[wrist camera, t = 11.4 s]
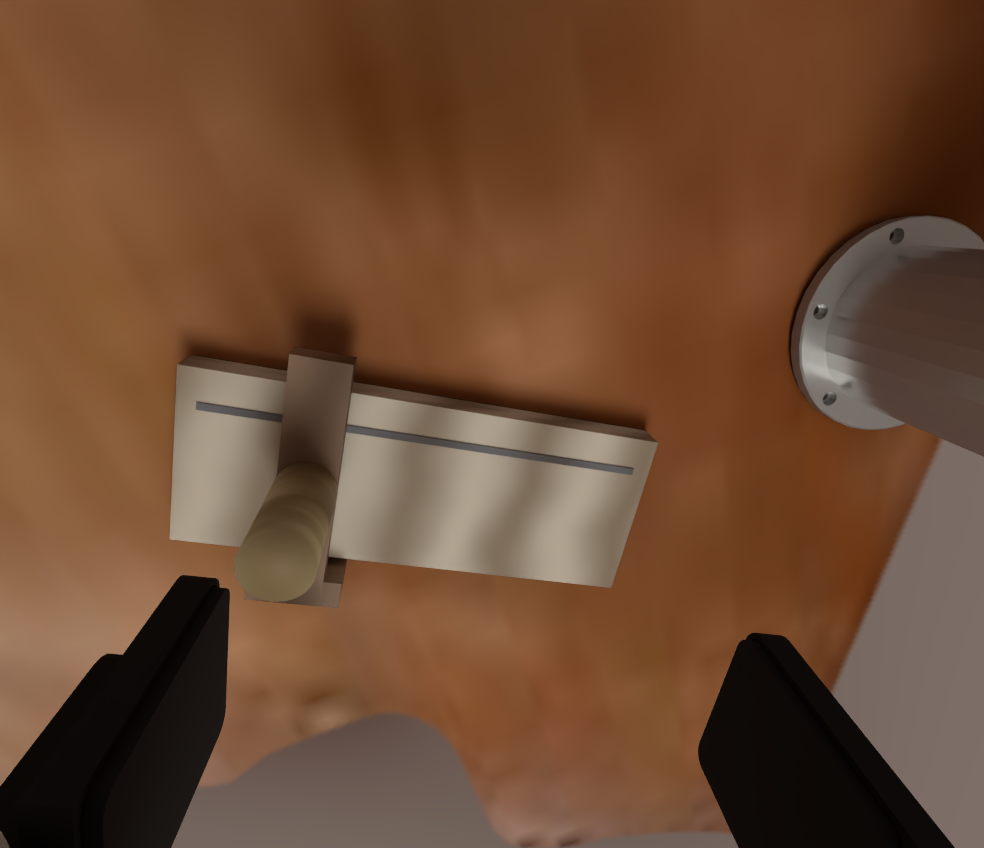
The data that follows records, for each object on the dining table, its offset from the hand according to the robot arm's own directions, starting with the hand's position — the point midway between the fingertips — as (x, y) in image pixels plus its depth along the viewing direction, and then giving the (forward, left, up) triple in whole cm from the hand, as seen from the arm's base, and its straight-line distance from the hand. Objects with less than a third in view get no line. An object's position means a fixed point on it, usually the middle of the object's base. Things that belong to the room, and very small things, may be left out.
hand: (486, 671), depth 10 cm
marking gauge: (+6, +7, -24) cm, 25 cm away
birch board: (0, +7, -24) cm, 25 cm away
